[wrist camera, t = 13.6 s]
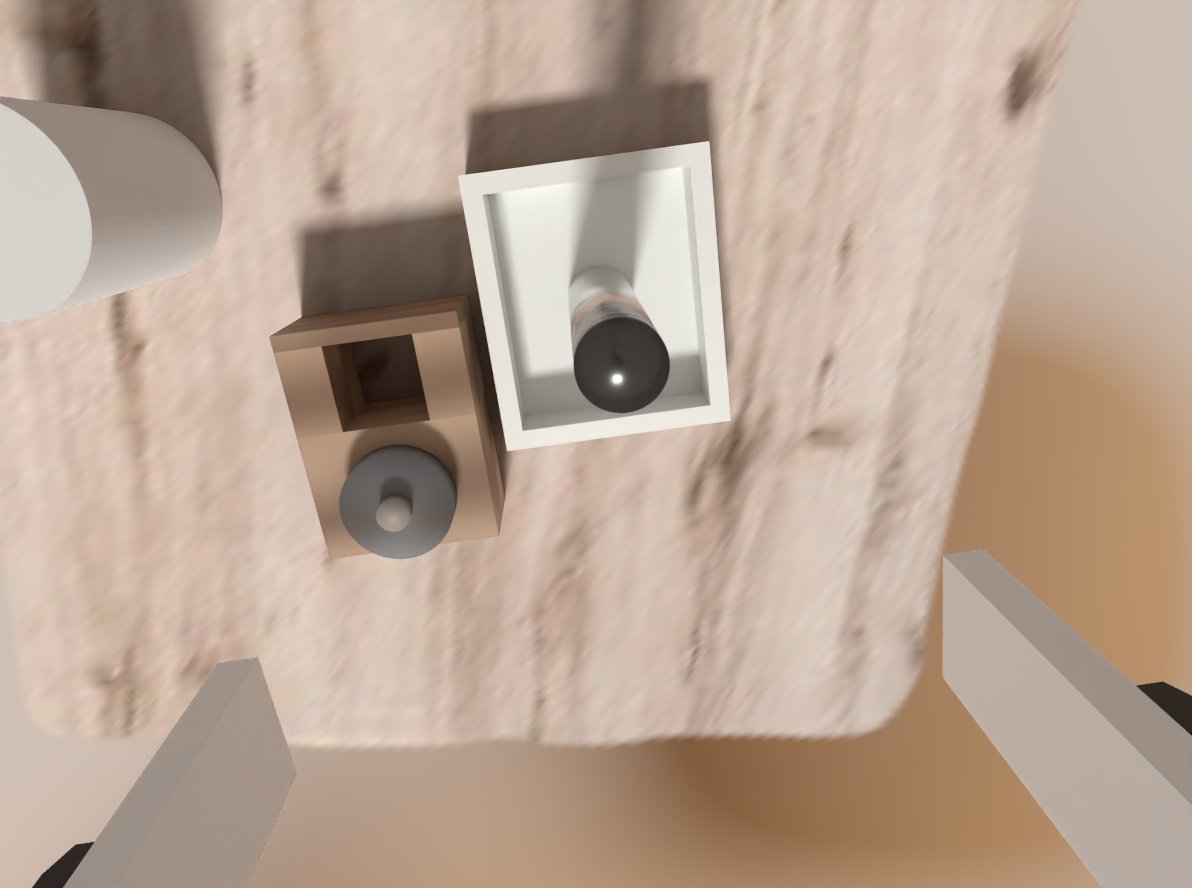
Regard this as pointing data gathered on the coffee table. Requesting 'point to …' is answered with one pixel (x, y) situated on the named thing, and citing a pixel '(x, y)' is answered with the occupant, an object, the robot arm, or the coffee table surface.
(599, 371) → the pin
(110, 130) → the white cylinder
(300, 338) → the block
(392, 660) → the coffee table surface
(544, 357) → the tray
